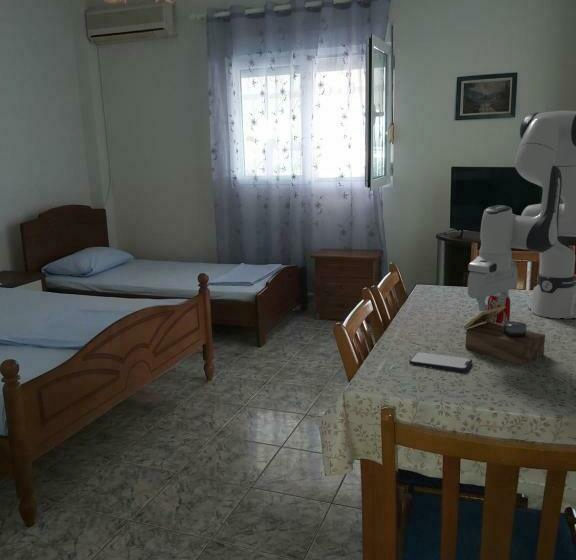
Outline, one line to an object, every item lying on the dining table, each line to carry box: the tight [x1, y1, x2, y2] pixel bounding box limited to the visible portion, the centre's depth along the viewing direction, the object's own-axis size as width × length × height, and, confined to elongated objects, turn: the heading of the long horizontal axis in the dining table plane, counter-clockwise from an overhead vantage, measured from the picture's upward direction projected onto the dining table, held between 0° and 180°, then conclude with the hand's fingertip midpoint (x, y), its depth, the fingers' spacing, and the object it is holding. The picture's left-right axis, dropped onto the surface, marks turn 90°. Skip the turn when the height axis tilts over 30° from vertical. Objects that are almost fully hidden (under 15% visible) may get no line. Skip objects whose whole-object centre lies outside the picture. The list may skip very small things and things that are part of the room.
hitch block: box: [465, 321, 546, 365], centre depth 168 cm, size 12×18×6 cm, turn 38°
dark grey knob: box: [504, 320, 527, 338], centre depth 165 cm, size 6×6×8 cm
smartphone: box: [408, 351, 473, 374], centre depth 161 cm, size 9×2×16 cm
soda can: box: [486, 293, 511, 325], centre depth 187 cm, size 7×7×12 cm
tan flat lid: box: [463, 305, 506, 330], centre depth 172 cm, size 12×8×1 cm
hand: (492, 307), depth 169 cm, fingers open, 8 cm apart
